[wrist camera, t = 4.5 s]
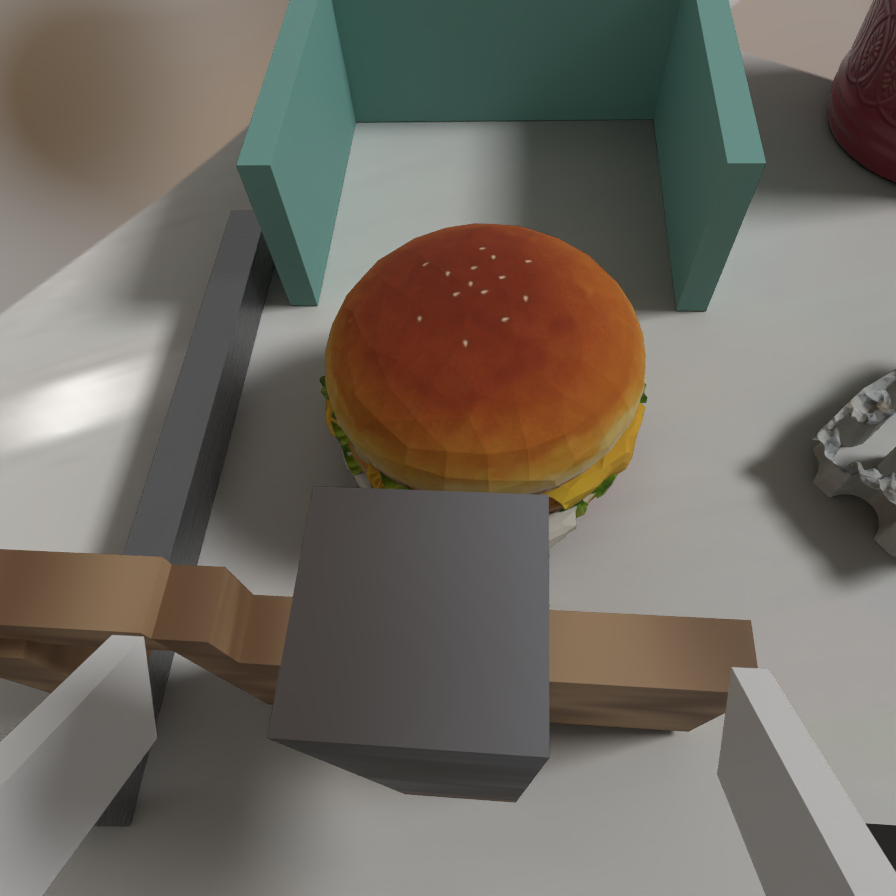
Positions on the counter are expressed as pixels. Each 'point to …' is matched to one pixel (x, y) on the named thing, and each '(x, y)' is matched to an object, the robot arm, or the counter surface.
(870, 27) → the canister
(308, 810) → the counter surface
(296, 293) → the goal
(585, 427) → the burger
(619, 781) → the counter surface
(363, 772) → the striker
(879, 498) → the egg carton
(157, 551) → the rail
